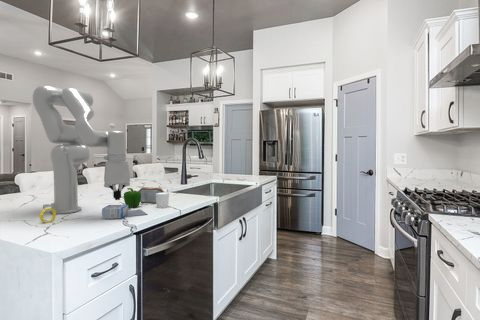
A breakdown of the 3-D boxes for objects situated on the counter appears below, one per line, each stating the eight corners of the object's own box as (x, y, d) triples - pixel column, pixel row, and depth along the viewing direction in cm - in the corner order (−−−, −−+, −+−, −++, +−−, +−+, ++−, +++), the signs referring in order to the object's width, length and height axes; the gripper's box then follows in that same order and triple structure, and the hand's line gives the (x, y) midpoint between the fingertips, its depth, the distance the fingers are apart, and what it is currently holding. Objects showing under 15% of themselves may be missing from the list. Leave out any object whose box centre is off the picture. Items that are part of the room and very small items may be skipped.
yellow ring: (44, 224, 115) (42, 210, 115) (39, 224, 116) (37, 209, 115) (57, 220, 121) (56, 206, 120) (53, 219, 122) (51, 205, 121)
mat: (108, 219, 122) (108, 218, 122) (104, 213, 133) (104, 213, 133) (147, 214, 131) (147, 214, 131) (140, 209, 141) (140, 209, 141)
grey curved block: (165, 202, 161) (165, 187, 160) (163, 203, 157) (162, 188, 157) (139, 202, 162) (138, 187, 162) (136, 203, 159) (136, 187, 159)
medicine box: (108, 204, 130) (128, 204, 131) (108, 214, 130) (128, 214, 131) (101, 208, 122) (122, 208, 123) (101, 219, 122) (122, 218, 123)
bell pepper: (140, 204, 154) (140, 186, 154) (142, 207, 147) (142, 188, 146) (123, 206, 151) (123, 186, 150) (124, 209, 143) (124, 188, 143)
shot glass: (171, 205, 151) (171, 192, 151) (164, 208, 145) (164, 194, 144) (160, 205, 153) (160, 191, 153) (152, 207, 147) (152, 193, 147)
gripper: (99, 159, 122) (100, 202, 122) (136, 158, 130) (136, 199, 131) (97, 158, 128) (97, 200, 129) (132, 158, 136) (132, 197, 137)
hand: (117, 199), depth 130 cm, fingers closed
